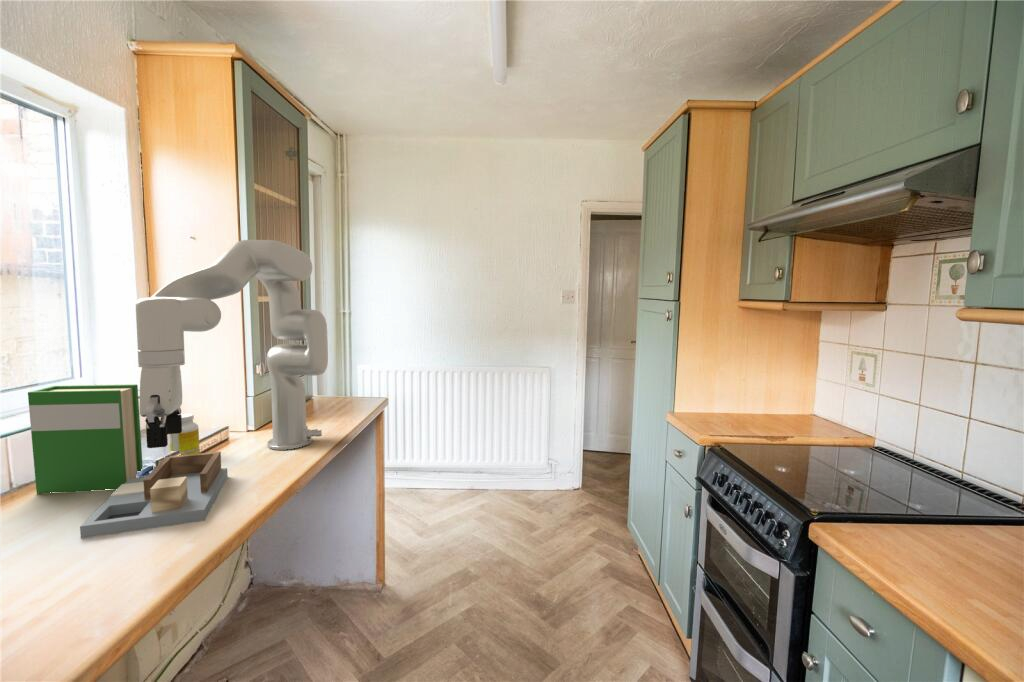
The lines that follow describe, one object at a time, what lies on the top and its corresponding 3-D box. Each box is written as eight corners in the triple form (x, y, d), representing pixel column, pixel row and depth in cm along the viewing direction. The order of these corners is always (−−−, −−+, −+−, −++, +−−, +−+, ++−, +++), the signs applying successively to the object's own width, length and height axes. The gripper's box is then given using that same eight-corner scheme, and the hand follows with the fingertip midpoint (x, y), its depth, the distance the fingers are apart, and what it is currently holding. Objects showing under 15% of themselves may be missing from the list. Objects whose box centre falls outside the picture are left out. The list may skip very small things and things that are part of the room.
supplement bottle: (205, 456, 129) (203, 413, 128) (187, 465, 123) (184, 419, 121) (184, 455, 130) (182, 412, 128) (164, 463, 123) (161, 418, 122)
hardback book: (143, 477, 114) (137, 384, 112) (124, 489, 107) (117, 390, 105) (61, 481, 111) (53, 385, 108) (36, 494, 104) (27, 392, 101)
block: (187, 498, 98) (186, 476, 97) (181, 508, 93) (179, 485, 93) (159, 502, 96) (158, 479, 95) (151, 512, 91) (150, 489, 91)
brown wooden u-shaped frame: (221, 468, 115) (220, 451, 114) (207, 492, 101) (206, 473, 101) (167, 474, 110) (166, 456, 110) (144, 500, 97) (143, 480, 96)
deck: (227, 476, 116) (227, 466, 115) (204, 520, 93) (204, 507, 93) (130, 488, 108) (129, 476, 108) (80, 538, 86) (79, 524, 86)
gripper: (154, 353, 98) (157, 430, 100) (121, 364, 82) (126, 455, 84) (195, 353, 101) (197, 427, 103) (170, 363, 85) (174, 451, 87)
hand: (165, 439), depth 93 cm, fingers open, 9 cm apart
